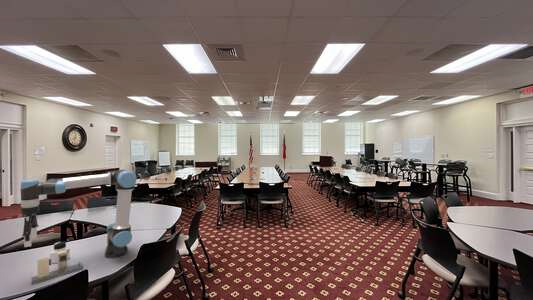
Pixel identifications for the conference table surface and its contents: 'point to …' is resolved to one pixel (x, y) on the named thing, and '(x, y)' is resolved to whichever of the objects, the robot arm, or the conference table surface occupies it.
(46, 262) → the rail
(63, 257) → the tan box
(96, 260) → the conference table surface
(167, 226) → the conference table surface
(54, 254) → the container
